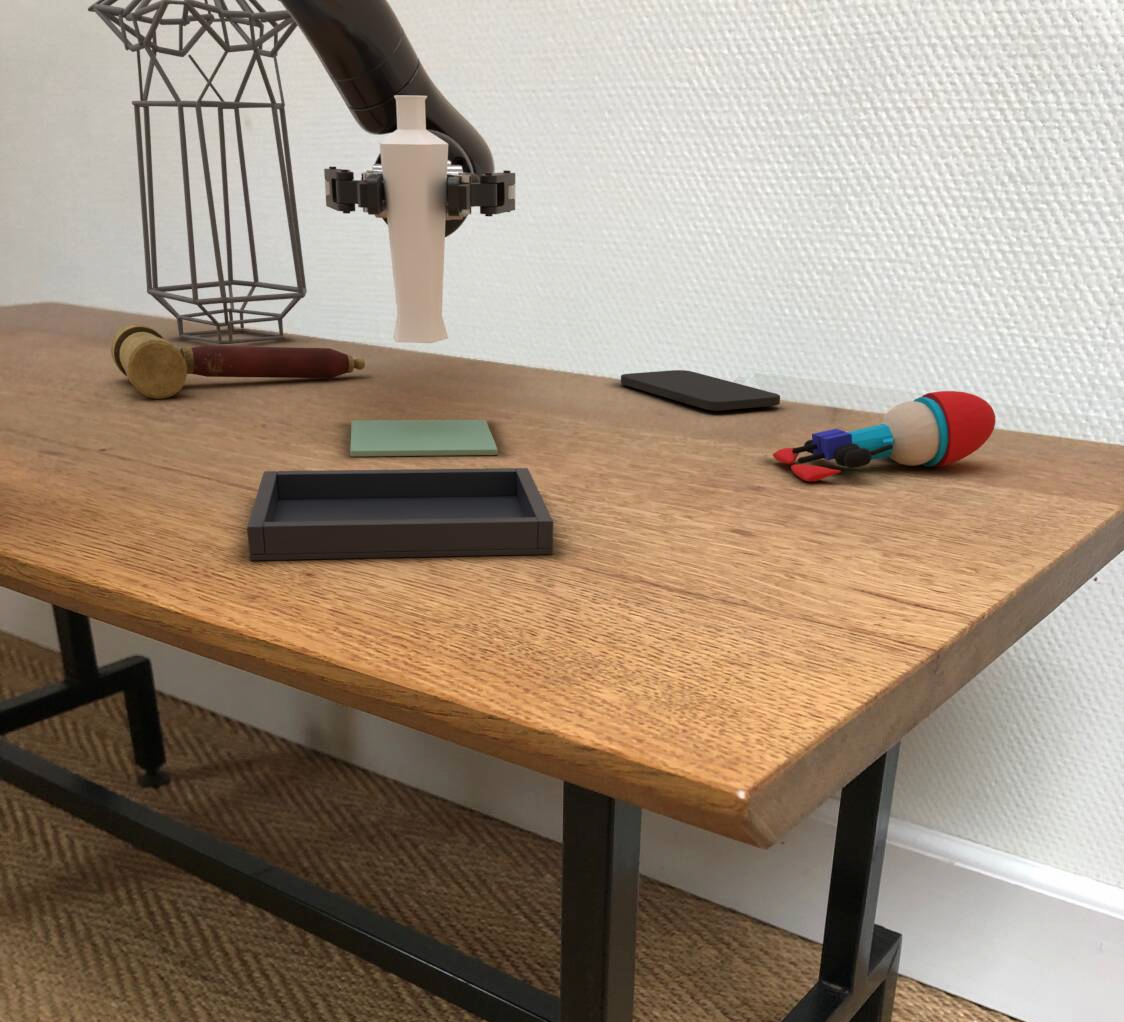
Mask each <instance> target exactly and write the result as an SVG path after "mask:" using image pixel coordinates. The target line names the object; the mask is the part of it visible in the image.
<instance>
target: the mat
mask: <svg viewBox="0 0 1124 1022" xmlns="http://www.w3.org/2000/svg"><path fill="white" fill-rule="evenodd" d="M350 429H351V430H350V446H349V448H350V449H349V455H350V457H351V458H352V457H423V456H424V457H431V456H432V457H435V456H436V457H438V456H441V457H444V456H445V457H446V456H448V457H449V456H498V455H499V449H498V447H497V444H496V441H495V439H494V436H493V435H492V431H491V430H490V427H489V425H488V422H487V420H486V419H384V420H383V419H379V420H378V419H377V420H376V419H374V420H368V419H367V420H365V419H363V420H358V419H357V420H351V427H350Z"/></svg>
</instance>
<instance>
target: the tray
mask: <svg viewBox="0 0 1124 1022" xmlns="http://www.w3.org/2000/svg"><path fill="white" fill-rule="evenodd" d="M529 469H530V468H528V467H501V468H500V467H497V468H495V467H494V468H493V467H492V468H491V467H490V468H487V467H486V468H419V469H418V468H413V469H412V468H410V469H409V468H408V469H407V468H406V469H404V468H403V469H343V470H342V469H334V470H332V469H330V470H329V469H325V470H278V471H277V470H270V471H267V470H265V471H263V473H262V477H261V481H260V483H259V486H258V489H257V493H256V496H255V500H254V503H253V507H252V510H251V514H250V515H249V519H248V523H247V526H246V532H247V543H248V553H249V555H248V556H249V561H254V562H255V561H293V560H294V561H296V560H339V559H340V560H341V559H342V560H343V559H346V560H347V559H387V558H390V559H391V558H393V559H394V558H435V557H436V558H439V557H480V556H482V557H483V556H485V557H487V556H488V557H489V556H526V555H527V556H528V555H529V556H531V555H533V556H534V555H553V554H554V549H553V547H554V521H553V520H554V519H553V518H552V515H551V514H550V511H549V509H548V508H547V506H546V503H545V501H544V499H543V497H542V494H541V493H540V491H539V489H538V487H537V484H536V482H535V480H534V478H533V476H532V474H531V472H530V470H529Z"/></svg>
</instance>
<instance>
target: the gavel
mask: <svg viewBox="0 0 1124 1022" xmlns="http://www.w3.org/2000/svg"><path fill="white" fill-rule="evenodd" d="M110 353H111V354H110V355H111V358H112V361H113V363H114V364H115V366H116V367H117V369H118V370H119V371H120V372H121V373H122V374H123V375H124V376H125V377H126V378H127V379H128V381H129V382H130V383H131V384H132V386H133V387H134V388H135V389H136V390H137V391H138V392H139V393H140V394H141V395H144V396H145V397H148V398H152V399H157V400H160V399H161V400H163V399H167V398H171V397H172V396H174V395H176V394H177V393H178V392H180V390H182V388H183V387H184V385H185V383H186V380H187V377H188V375H195V376H200V377H207V378H267V379H268V378H269V379H270V378H273V379H276V378H277V379H292V378H293V379H333V378H336V377H339V376H342V375H345V374H351V373H352V372H353V371H354V369H356V370H358V371H361V370H364V369H365V368H366V361H365V359H364V358H363V357H356V358H354V357H353V355H351V354H348V353H347V354H346V353H344V352H341V351H339V350H336V349H334V348H330V347H329V348H327V347H293V346H292V347H289V346H288V347H287V346H245V345H243V346H241V345H200V346H194V347H193V346H192V347H178V346H175V345H173V344H172V343H171V342H170V341H168V340H166V339H165V338H164V336H162V334H160V333H158V331H156V330H155V329H154V328H153V327H151V326H150V325H146V324H143V323H129V324H126V325H125V326H123V327H121V328H119V330H118V331H116V333H115V334H114V336H113V338H112V340H111V345H110Z"/></svg>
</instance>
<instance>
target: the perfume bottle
mask: <svg viewBox="0 0 1124 1022" xmlns="http://www.w3.org/2000/svg"><path fill="white" fill-rule="evenodd" d="M394 98H395V99H396V110H397V130H396V131H394V132H393V133H389V135H388V136H386V137H385V138H383V139H382V140H381V141H380V142H379V143H378V144H379V154H381V164H382V173H383V183H384V192H385V202H386V211H387V221H388V225H387V228H388V229H387V230H388V238H389V249H390V250H389V251H390V259H391V268H392V277H393V286H394V287H393V288H394V296H395V297H394V298H395V307H396V320H395V325H394V326H395V327H394V331H393V339H394V342H395V343H409V344H434V343H437V342H441V341H445V340H448V339H449V336H448V333H447V329H446V325H445V323H444V318H443V294H444V293H443V292H444V271H445V270H444V269H445V268H444V265H445V241H446V237H445V218H446V191H447V164H448V143H446V142H445V141H443V140H441V139H440V138H438V137H437V136H435V135H434V134H432V133H430V132H429V131H427V130H426V117H425V99H426V98H427V96H403V95H396V96H394Z"/></svg>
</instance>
